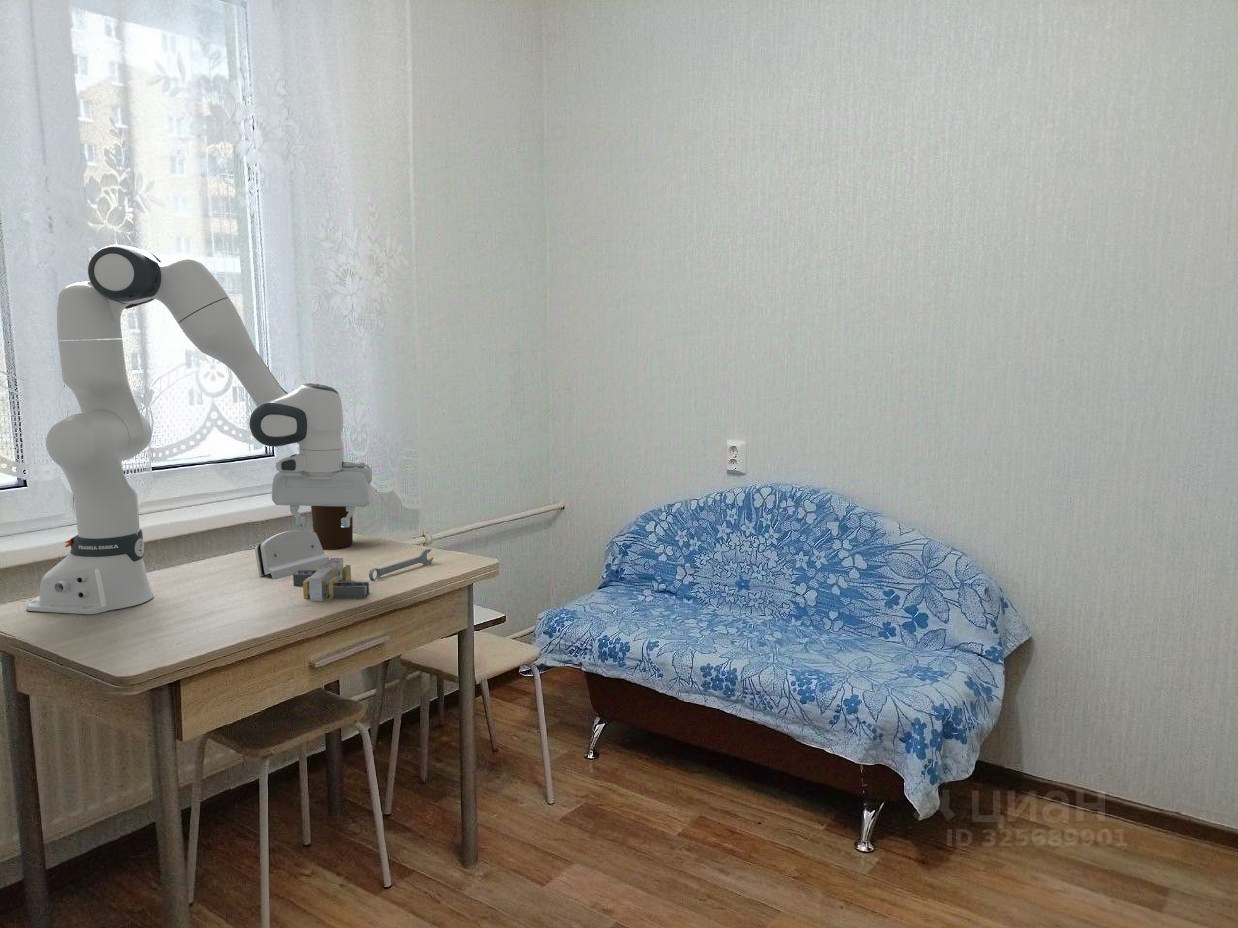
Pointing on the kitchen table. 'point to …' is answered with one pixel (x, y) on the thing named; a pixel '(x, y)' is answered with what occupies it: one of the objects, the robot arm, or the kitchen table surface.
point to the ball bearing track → (334, 584)
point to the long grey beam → (325, 579)
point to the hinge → (289, 553)
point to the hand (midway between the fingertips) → (323, 526)
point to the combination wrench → (401, 565)
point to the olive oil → (332, 526)
